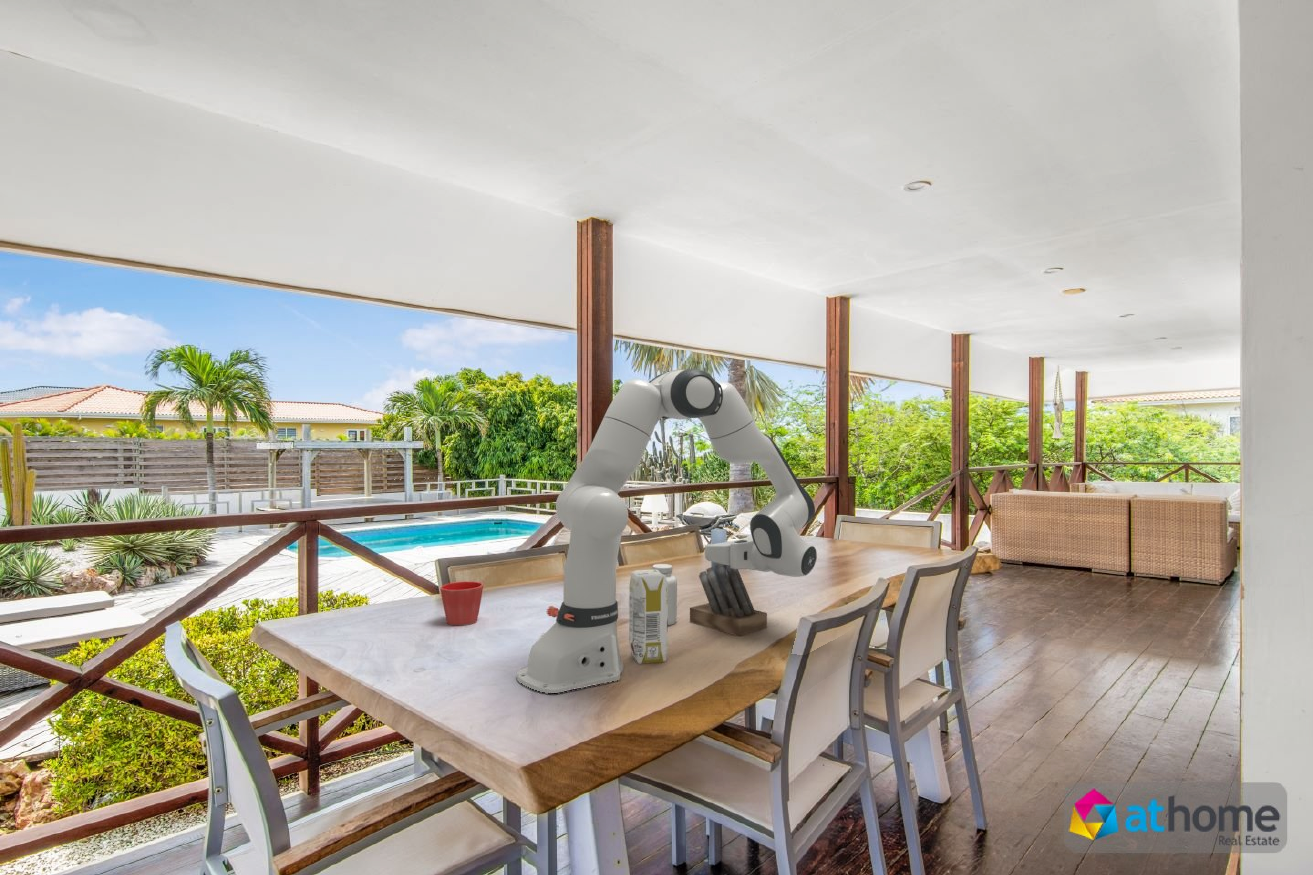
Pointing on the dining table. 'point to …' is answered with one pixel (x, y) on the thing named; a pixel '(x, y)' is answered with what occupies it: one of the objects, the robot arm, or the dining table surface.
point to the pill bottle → (669, 590)
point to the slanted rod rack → (727, 604)
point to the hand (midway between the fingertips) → (716, 545)
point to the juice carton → (648, 616)
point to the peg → (716, 537)
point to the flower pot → (461, 602)
